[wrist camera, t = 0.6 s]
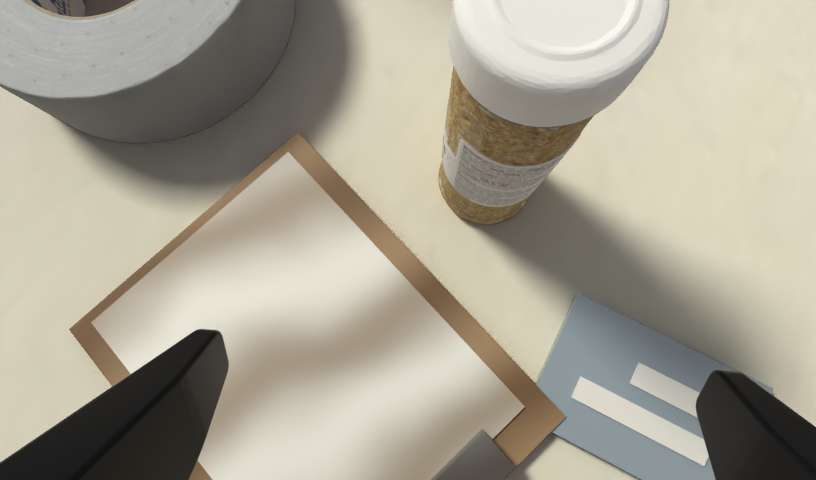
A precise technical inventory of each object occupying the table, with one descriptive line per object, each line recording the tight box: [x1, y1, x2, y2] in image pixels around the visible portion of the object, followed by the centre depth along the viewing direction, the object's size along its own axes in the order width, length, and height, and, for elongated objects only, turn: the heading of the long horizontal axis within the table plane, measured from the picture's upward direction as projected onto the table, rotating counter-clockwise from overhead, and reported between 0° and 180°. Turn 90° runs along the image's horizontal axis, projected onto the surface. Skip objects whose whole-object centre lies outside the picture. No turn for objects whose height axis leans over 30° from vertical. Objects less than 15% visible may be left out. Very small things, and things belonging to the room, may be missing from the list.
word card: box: [536, 294, 773, 480], centre depth 21 cm, size 9×6×1 cm, turn 63°
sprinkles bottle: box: [439, 0, 669, 224], centre depth 16 cm, size 5×5×14 cm
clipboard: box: [69, 132, 566, 480], centre depth 21 cm, size 18×14×1 cm
